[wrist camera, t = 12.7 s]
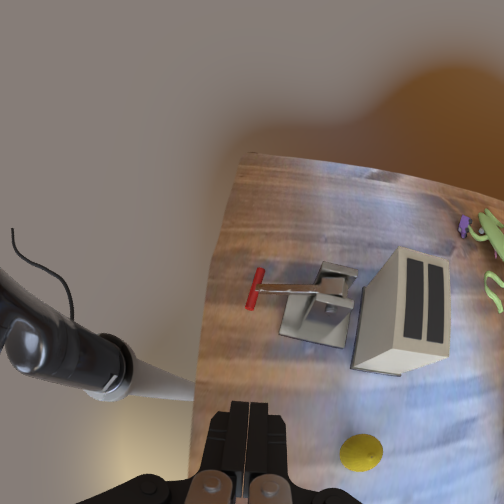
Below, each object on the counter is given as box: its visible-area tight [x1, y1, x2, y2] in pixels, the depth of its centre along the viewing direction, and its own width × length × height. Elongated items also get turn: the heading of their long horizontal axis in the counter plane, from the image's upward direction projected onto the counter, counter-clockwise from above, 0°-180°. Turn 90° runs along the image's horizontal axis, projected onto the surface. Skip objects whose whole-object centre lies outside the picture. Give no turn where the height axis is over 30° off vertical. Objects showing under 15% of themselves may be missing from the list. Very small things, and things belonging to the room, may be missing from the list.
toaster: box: [350, 246, 451, 377], centre depth 35 cm, size 9×14×14 cm, turn 164°
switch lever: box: [245, 268, 348, 311], centre depth 36 cm, size 13×6×2 cm
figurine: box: [458, 209, 504, 314], centre depth 44 cm, size 18×27×6 cm
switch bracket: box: [279, 261, 358, 349], centre depth 37 cm, size 10×8×13 cm
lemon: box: [340, 434, 383, 472], centre depth 29 cm, size 6×6×8 cm
